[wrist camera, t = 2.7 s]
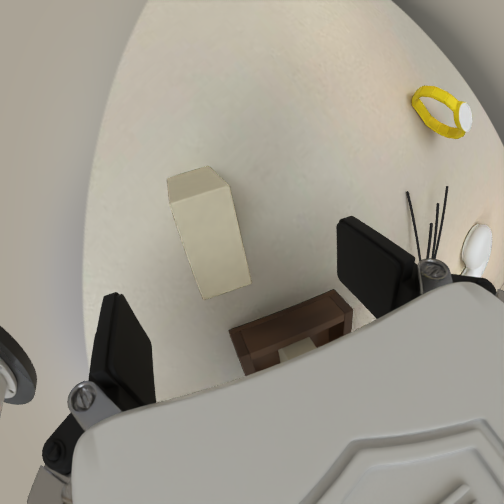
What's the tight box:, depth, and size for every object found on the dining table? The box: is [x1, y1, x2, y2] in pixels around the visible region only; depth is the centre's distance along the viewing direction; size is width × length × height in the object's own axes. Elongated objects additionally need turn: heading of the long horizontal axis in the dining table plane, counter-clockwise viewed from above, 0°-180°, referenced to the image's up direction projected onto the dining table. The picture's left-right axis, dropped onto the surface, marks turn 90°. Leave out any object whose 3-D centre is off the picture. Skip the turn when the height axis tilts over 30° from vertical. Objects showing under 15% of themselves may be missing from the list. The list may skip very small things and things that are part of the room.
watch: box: [412, 86, 472, 139], centre depth 18 cm, size 6×3×6 cm, turn 55°
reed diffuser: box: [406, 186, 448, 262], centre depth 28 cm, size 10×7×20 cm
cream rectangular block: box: [167, 166, 252, 300], centre depth 17 cm, size 3×6×6 cm, turn 11°
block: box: [278, 337, 317, 363], centre depth 26 cm, size 3×6×6 cm, turn 12°
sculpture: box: [461, 224, 492, 278], centre depth 33 cm, size 12×15×8 cm
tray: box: [228, 289, 353, 376], centre depth 33 cm, size 11×32×4 cm, turn 12°
